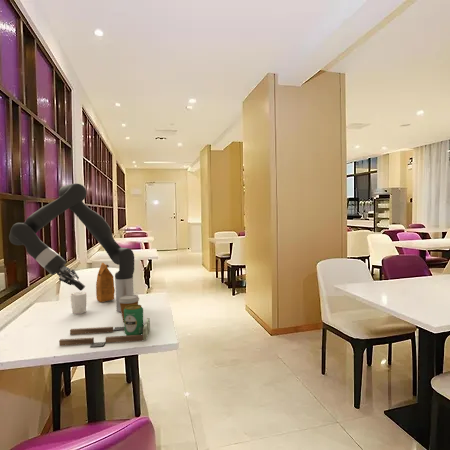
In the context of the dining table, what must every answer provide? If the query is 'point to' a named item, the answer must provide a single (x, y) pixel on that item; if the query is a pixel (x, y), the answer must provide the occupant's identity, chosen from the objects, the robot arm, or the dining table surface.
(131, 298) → the disposable coffee cup
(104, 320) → the dining table surface
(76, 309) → the white cup
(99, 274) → the coffee package
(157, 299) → the dining table surface
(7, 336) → the dining table surface
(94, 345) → the walnut track
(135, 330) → the beverage can
